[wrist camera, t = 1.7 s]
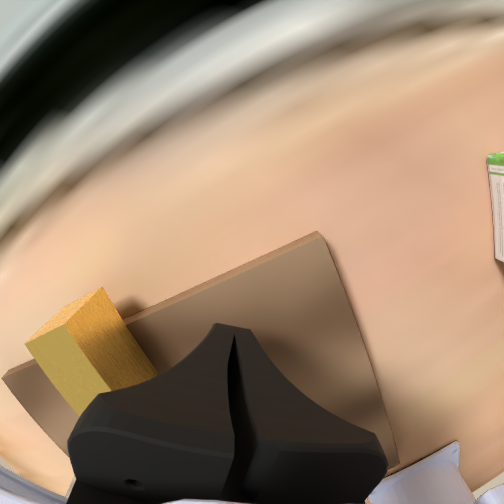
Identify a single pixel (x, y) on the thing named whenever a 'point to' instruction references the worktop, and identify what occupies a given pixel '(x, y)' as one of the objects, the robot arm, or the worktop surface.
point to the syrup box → (497, 200)
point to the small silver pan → (89, 351)
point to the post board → (264, 329)
